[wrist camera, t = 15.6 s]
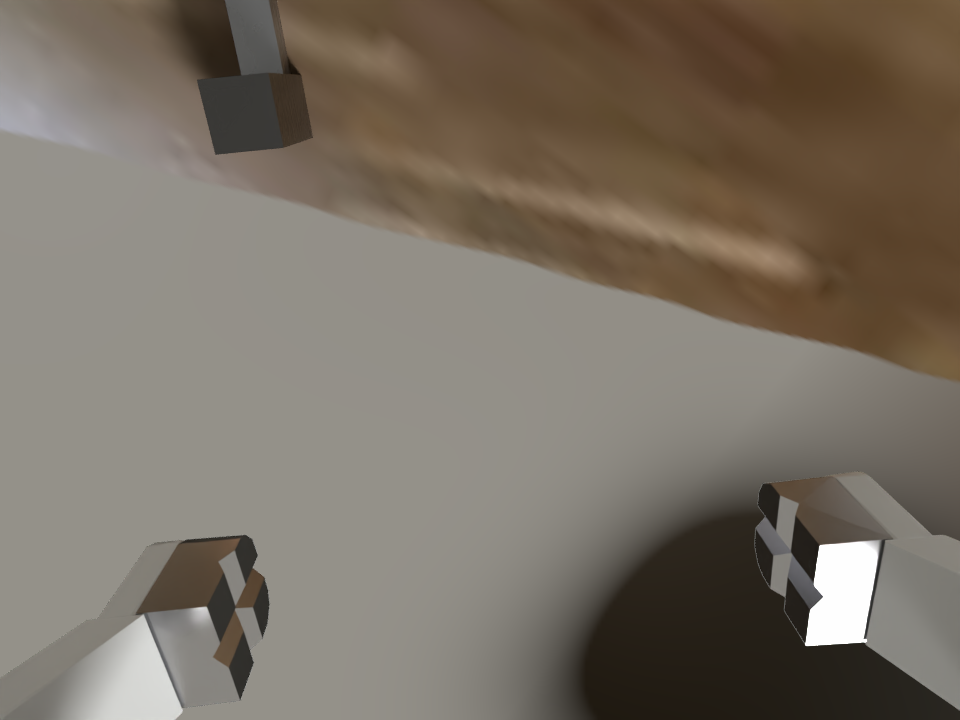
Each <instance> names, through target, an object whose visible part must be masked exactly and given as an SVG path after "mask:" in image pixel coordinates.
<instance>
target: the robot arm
mask: <svg viewBox="0 0 960 720" xmlns="http://www.w3.org/2000/svg"><path fill="white" fill-rule="evenodd" d="M758 507H759V508H760V509H761V511H762V512H763V514H764V515H765V518H764V519H763V520H762V522H761V523H760V524H759V525H758V526H757V527H756V529H755V550H756V556H757V561H758V565H759V567H760V570H761V572H762V575H763V577H764V579H765V580H766V582H767V584H768V585H769V587H770V588H771V589H772V590H774V591H775V592H777V593H779V594H781V595H783V596H784V597H785V606H784V611H785V613H786V615H787V616H788V618H789V619H790V621H791V622H792V624H793V625H794V627H795V629H796V630H797V632H798V634H799V635H800V636H801V638H802V640H803V641H804V643H805V645H820V644H835V643H849V642H864V641H866V643H865V644H866V645H867V646H869V647H870V648H871V649H873V650H875V651H876V652H877V653H879V654H880V655H881V656H883V657H885V658H886V659H887V660H889V661H890V662H892V663H893V664H894V665H896V666H897V667H899V668H900V669H901V670H903V671H904V672H906V673H907V674H909V675H910V676H911V677H913V678H914V679H916V680H917V681H919V682H920V683H921V684H923V685H924V686H926V687H927V688H929V689H930V690H931V691H933V692H935V693H936V694H937V695H939V696H940V697H941V698H943V699H944V700H946V701H947V702H949V703H950V704H951V705H953V706H954V707H956V708H957V709H959V710H960V541H958V540H955V539H953V538H950V537H948V536H945V535H935V536H933V535H932V534H930V533H929V532H928V531H927V530H926V529H925V528H924V527H923V526H922V525H921V524H920V523H919V522H918V521H917V520H916V519H915V518H913V517H912V516H911V515H910V514H909V513H908V512H907V511H906V510H905V509H904V508H903V507H902V506H901V505H899V503H897V502H896V501H895V500H894V499H893V498H892V497H891V496H890V495H889V494H888V493H887V492H886V491H885V490H883V489H882V488H881V487H880V486H879V485H878V484H877V483H876V482H875V481H874V480H873V479H872V478H871V477H870V476H869V475H867V474H865V473H862V472H859V471H858V472H850V473H842V474H835V475H827V476H826V477H819V478H810V479H800V480H790V481H782V482H772V483H764V484H762V486H761V489H760V491H759V497H758ZM257 556H258V554H257V552H256V549H255V546H254V543H253V540H252V539H251V538H250V537H248V536H247V535H239V536H226V537H215V538H214V537H213V538H201V539H188V540H185V541H182V540H178V541H168V542H157V543H154V544H151V545H149V546H147V547H146V549H145V550H144V551H143V553H142V555H141V556H140V557H139V559H138V560H137V562H136V563H135V565H134V566H133V567H132V569H131V570H130V572H129V573H128V575H127V576H126V578H125V579H124V581H123V582H122V584H121V585H120V587H119V588H118V589H117V591H116V592H115V594H114V595H113V597H112V598H111V600H110V601H109V602H108V604H107V605H106V607H105V608H104V610H103V611H102V613H101V614H100V616H99V617H98V618H97V619H92V620H86V621H85V622H83V623H82V624H80V625H79V626H77V627H76V628H74V629H73V630H71V631H70V632H68V633H67V634H65V635H64V636H62V637H61V638H59V639H58V640H56V641H55V642H53V643H52V644H50V645H49V646H47V647H46V648H44V649H43V650H41V651H40V652H38V653H37V654H35V655H34V656H32V657H31V658H29V659H28V660H27V661H25V662H23V663H22V664H21V665H19V666H17V667H16V668H14V669H13V670H11V671H10V672H8V673H7V674H5V675H4V676H3V677H1V678H0V720H175V719H176V718H177V717H178V716H179V715H180V714H181V713H182V712H183V710H182V708H187V707H196V706H203V705H211V704H219V703H227V702H235V701H240V700H241V697H242V694H243V692H244V689H245V686H246V683H247V681H248V678H249V675H250V672H251V669H252V667H253V664H254V661H253V658H252V655H251V652H250V650H251V649H252V648H253V647H254V646H255V645H256V644H257V643H258V642H259V641H261V640H262V639H263V636H264V633H265V630H266V627H267V624H268V615H269V605H270V604H269V594H268V588H267V585H266V582H265V578H264V577H263V576H262V575H261V574H259V573H258V572H257V571H256V570H254V569H253V566H254V564H255V561H256V558H257Z"/></svg>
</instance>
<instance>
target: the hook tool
mask: <svg viewBox="0 0 960 720" xmlns="http://www.w3.org/2000/svg"><path fill="white" fill-rule="evenodd" d="M225 3H226V8H227V12H228V17H229V21H230V26H231V30H232V35H233V39H234V44H235V48H236V53H237V57H238V62H239V66H240V71H241V75H240V76H230V77H220V78H210V79H201V80H197V82H198V86H199V90H200V94H201V98H202V102H203V106H204V110H205V114H206V118H207V122H208V126H209V130H210V134H211V138H212V142H213V146H214V151H215V155H217V154H226V153H236V152H246V151H256V150H266V149H275V148H284V147H287V146H290V145H293V144H296V143H299V142H301V141H304V140H307V139H310V138H313V136H312V131H311V126H310V120H309V115H308V110H307V104H306V99H305V94H304V88H303V83H302V78H301V75H294V74H291V73H290V67H289V62H288V57H287V52H286V47H285V42H284V37H283V31H282V26H281V21H280V16H279V11H278V6H277V0H225Z"/></svg>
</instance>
